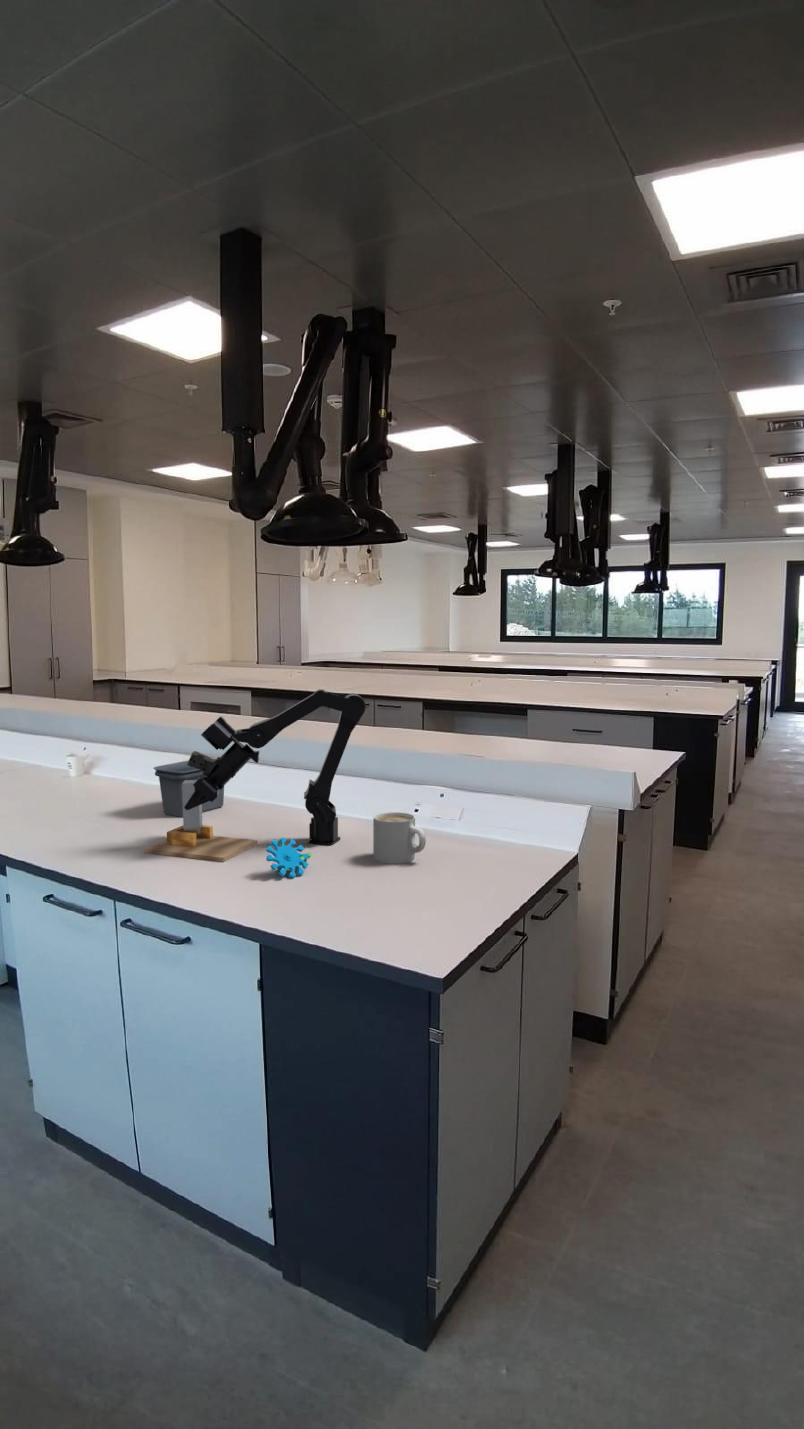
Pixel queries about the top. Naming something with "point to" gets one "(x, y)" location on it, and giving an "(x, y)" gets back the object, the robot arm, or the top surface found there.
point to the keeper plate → (200, 845)
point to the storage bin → (180, 787)
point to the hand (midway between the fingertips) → (187, 806)
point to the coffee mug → (396, 838)
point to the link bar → (191, 810)
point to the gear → (287, 857)
